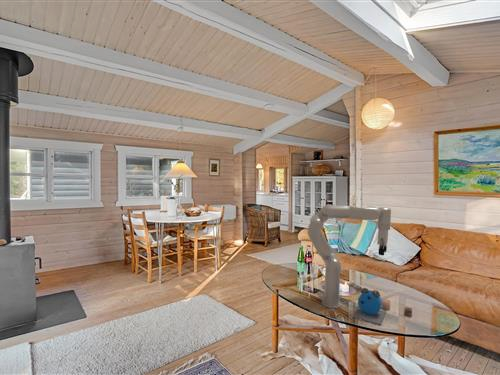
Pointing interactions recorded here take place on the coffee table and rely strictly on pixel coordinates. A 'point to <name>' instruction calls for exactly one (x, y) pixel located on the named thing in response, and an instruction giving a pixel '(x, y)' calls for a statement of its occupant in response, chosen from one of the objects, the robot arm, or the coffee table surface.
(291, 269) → the coffee table surface
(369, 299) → the alarm clock
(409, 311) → the walnut block
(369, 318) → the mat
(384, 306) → the tan egg shape
